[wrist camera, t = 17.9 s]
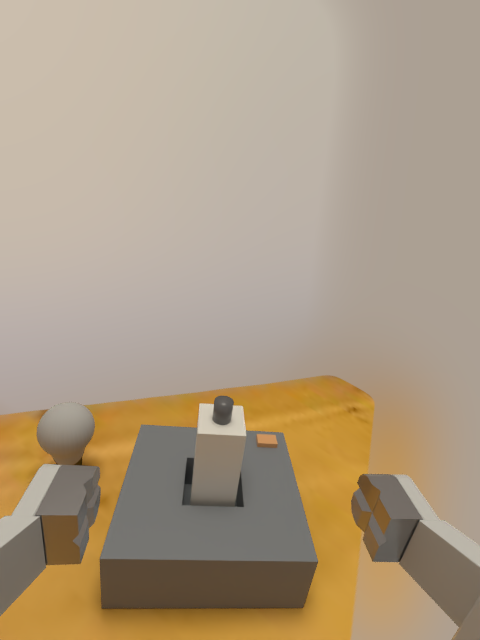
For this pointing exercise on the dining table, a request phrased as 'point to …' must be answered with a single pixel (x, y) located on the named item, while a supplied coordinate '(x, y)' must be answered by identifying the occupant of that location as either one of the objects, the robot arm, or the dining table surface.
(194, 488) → the plug
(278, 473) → the socket housing
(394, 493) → the robot arm
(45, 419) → the light bulb
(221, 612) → the dining table surface
